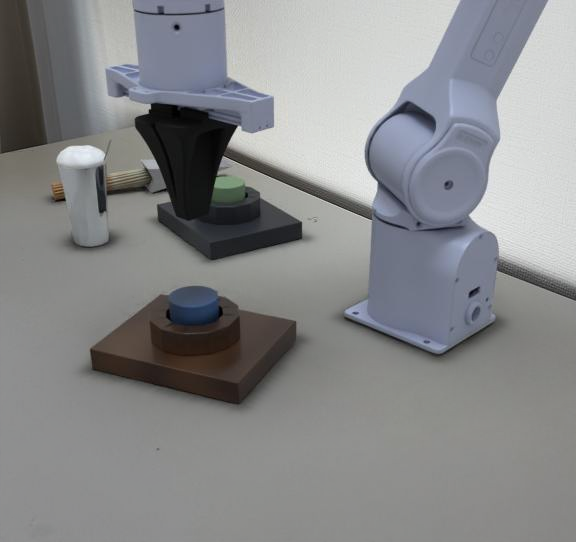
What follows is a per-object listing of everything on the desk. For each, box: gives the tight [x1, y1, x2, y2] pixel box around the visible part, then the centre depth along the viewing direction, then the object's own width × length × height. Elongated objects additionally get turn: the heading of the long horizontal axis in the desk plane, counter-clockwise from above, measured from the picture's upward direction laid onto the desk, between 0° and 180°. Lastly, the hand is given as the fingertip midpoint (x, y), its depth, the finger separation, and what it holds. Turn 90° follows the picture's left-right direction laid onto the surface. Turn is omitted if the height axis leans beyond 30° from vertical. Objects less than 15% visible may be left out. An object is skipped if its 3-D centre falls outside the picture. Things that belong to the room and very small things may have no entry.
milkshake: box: [55, 138, 113, 248], centre depth 82 cm, size 4×5×10 cm
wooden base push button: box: [89, 293, 297, 405], centre depth 64 cm, size 12×10×4 cm
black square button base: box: [156, 185, 303, 260], centre depth 86 cm, size 12×10×4 cm
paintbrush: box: [50, 159, 233, 201], centre depth 97 cm, size 4×3×20 cm
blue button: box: [168, 285, 219, 326], centre depth 63 cm, size 4×4×2 cm
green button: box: [211, 175, 246, 203], centre depth 85 cm, size 4×4×2 cm
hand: (192, 215), depth 62 cm, fingers closed
